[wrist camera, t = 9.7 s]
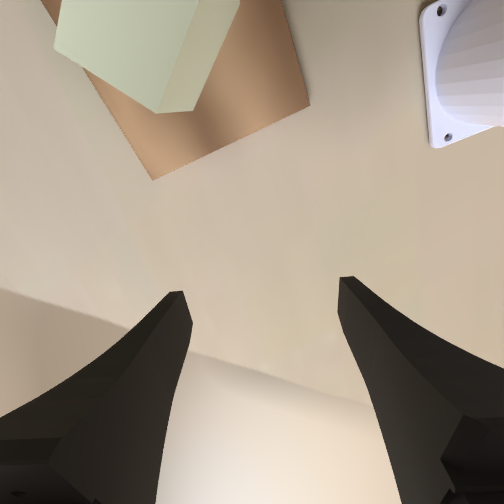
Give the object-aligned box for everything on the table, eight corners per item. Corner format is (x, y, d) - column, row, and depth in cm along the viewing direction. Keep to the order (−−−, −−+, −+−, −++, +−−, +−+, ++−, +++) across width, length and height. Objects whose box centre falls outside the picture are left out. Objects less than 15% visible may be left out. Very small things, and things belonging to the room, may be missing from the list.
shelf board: (224, -190, 11) (217, -260, 9) (308, 105, 17) (315, 105, 15) (26, -36, 14) (-17, -62, 12) (156, 177, 19) (143, 186, 17)
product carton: (240, 3, 14) (227, -76, 8) (193, 110, 16) (156, 113, 10) (168, -56, 13) (89, -201, 7) (129, 69, 15) (47, 44, 9)
